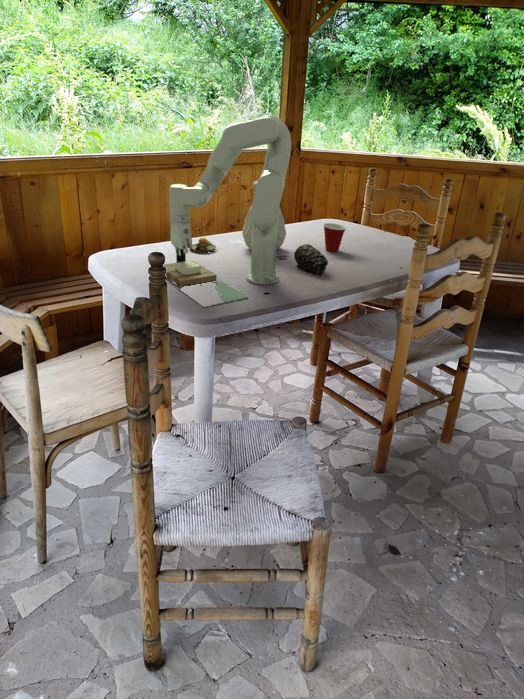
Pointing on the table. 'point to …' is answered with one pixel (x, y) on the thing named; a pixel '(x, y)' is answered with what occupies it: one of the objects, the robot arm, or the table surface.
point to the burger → (203, 246)
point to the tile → (187, 267)
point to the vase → (248, 227)
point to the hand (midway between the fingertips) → (181, 264)
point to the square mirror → (228, 292)
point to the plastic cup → (333, 236)
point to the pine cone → (310, 260)
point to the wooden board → (189, 276)
